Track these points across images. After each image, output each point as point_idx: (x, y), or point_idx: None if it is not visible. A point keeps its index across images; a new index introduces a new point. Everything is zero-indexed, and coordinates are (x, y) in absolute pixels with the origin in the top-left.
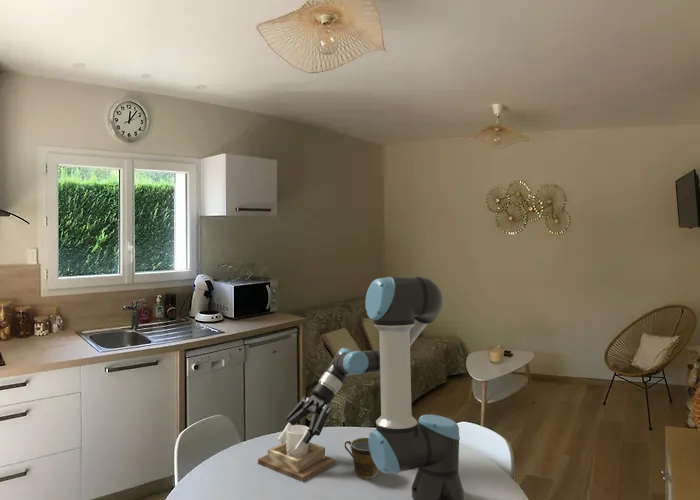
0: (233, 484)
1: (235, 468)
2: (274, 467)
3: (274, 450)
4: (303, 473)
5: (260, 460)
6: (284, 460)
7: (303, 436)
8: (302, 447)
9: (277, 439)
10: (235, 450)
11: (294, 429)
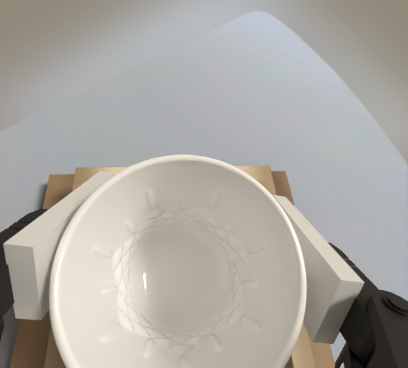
0: (215, 72)
1: (289, 122)
2: None
3: None
4: (63, 196)
5: (272, 172)
6: None
7: (56, 210)
8: None
9: (283, 196)
10: (405, 194)
11: (275, 309)
